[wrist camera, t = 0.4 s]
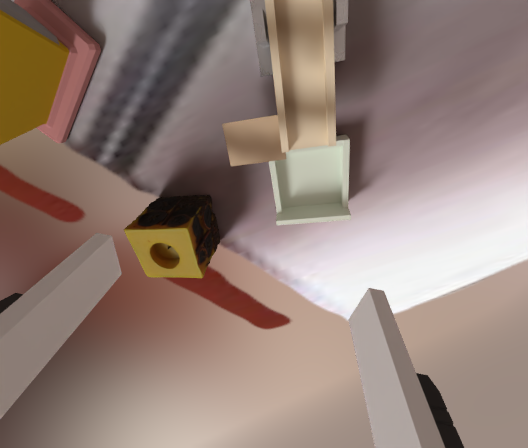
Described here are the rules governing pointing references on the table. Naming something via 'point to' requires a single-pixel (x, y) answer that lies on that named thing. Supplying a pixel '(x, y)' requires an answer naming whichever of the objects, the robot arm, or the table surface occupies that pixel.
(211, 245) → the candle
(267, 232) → the table surface
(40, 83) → the pink yellow-faced device
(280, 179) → the tray
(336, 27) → the fulcrum
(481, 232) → the table surface
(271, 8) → the beige piece
